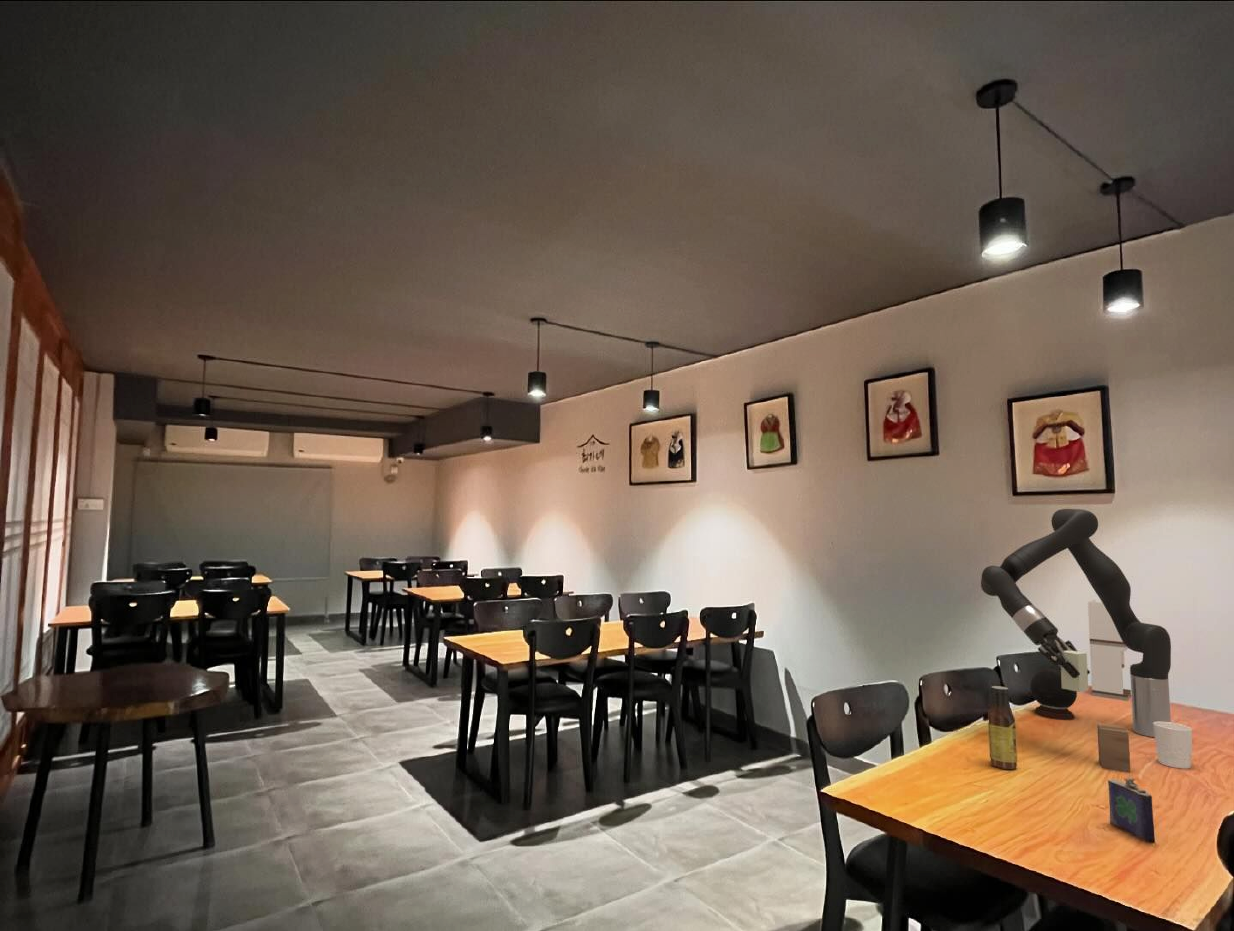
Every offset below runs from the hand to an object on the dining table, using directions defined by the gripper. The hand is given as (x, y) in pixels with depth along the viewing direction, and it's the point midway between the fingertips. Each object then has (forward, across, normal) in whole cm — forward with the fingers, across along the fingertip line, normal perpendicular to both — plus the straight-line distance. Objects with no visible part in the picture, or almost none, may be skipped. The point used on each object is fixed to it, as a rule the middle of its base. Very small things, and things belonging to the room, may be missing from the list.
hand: (1081, 675), depth 182 cm
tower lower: (+21, 0, +11) cm, 23 cm away
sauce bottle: (+11, -26, +20) cm, 35 cm away
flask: (+36, -41, -4) cm, 54 cm away
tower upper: (+17, 0, +7) cm, 18 cm away
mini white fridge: (-8, +89, +40) cm, 98 cm away
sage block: (+2, 0, +4) cm, 5 cm away
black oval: (-4, +39, +36) cm, 53 cm away
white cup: (+25, +17, +6) cm, 31 cm away
